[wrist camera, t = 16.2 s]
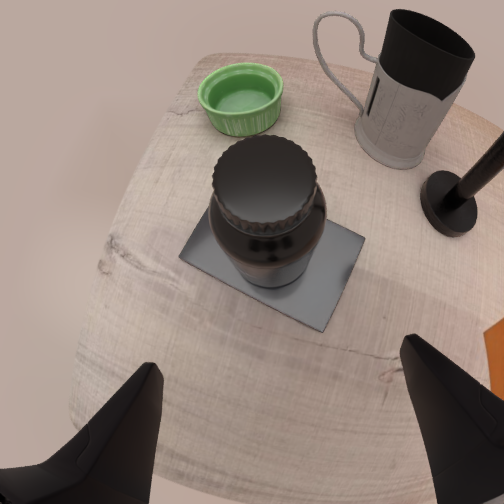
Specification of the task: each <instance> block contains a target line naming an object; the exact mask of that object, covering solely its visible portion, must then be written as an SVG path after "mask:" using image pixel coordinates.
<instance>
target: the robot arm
mask: <svg viewBox="0 0 504 504" xmlns="http://www.w3.org/2000/svg"><path fill="white" fill-rule="evenodd" d="M400 358H401V362H402V366H403V371H404V375H405V379H406V384H407V388H408V392H409V395H410V398H411V401H412V404H413V407H414V410H415V414H416V417H417V420H418V423H419V427H420V430H421V434H422V437H423V441H424V445H425V448H426V452H427V456H428V460H429V464H430V469H431V473H432V477H433V483H434V488H435V493H436V498H437V504H504V401H503V400H502V399H500V398H499V397H497V396H496V395H495V394H493V393H492V392H491V391H489V390H488V389H487V388H486V387H484V386H483V385H482V384H480V383H479V382H478V381H477V380H475V379H474V378H473V377H472V376H470V375H469V374H468V373H467V372H465V371H464V370H463V369H462V368H460V367H459V366H458V365H456V364H455V363H454V362H452V361H451V360H450V359H449V358H447V357H446V356H445V355H443V354H442V353H441V352H439V351H438V350H437V349H436V348H434V347H433V346H432V345H430V344H429V343H428V342H426V341H425V340H424V339H422V338H421V337H420V336H418V335H417V334H410V335H406V336H405V337H404V339H403V343H402V345H401V348H400ZM163 385H164V378H163V375H162V373H161V371H160V370H159V368H158V366H157V365H156V364H155V363H153V362H145V363H143V364H142V365H141V366H140V367H139V368H138V370H137V371H136V372H135V373H134V374H133V375H132V376H131V377H130V378H129V379H128V380H127V381H126V382H125V383H124V384H123V385H122V387H121V388H120V389H119V390H118V391H117V392H116V393H115V394H114V395H113V396H112V397H111V398H110V399H109V400H108V401H107V403H106V404H105V405H104V406H103V407H102V408H101V409H100V410H99V411H98V412H97V413H96V414H95V415H94V416H93V417H92V419H91V420H90V421H89V422H88V424H86V425H85V426H84V427H83V428H82V429H81V430H80V431H79V432H78V433H77V434H76V435H75V436H74V437H73V438H72V439H71V440H70V441H69V442H68V443H67V444H65V445H64V446H63V447H62V448H61V449H60V450H58V451H57V452H56V453H55V454H54V455H52V456H51V457H50V458H49V459H48V460H46V461H45V462H43V463H40V464H37V465H32V466H25V467H16V468H7V469H0V504H149V498H150V489H151V481H152V474H153V466H154V459H155V453H156V446H157V440H158V434H159V428H160V422H161V415H162V400H163Z"/></svg>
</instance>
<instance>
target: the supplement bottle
mask: <svg viewBox="0 0 504 504" xmlns="http://www.w3.org/2000/svg"><path fill="white" fill-rule="evenodd" d="M315 170H316V168H315V166H314V165H313V164H312V159H311V158H310V157H309V156H308V154H307V152H306V151H304V150H302V148H301V146H299V145H297V144H295V143H294V142H293V141H291V140H287V139H286V138H284V137H278V136H276V135H271V136H269V135H262V136H258V135H256V136H253V137H248V138H245V139H244V140H241V141H238V142H237V143H236V144H234V145H232V146H230V147H229V148H228V150H226V151H225V152H223V154H222V156H221V157H220V158H219V159H218V162H217V164H216V165H215V167H214V173H213V175H212V178H213V183H212V187H213V189H214V191H213V193H212V196H211V199H210V203H209V223H210V227H211V230H212V233H213V235H214V237H215V239H216V241H217V243H218V244H219V246H220V247H221V249H222V250H223V252H224V253H225V254H226V256H227V257H228V259H229V260H230V261H231V263H232V264H233V266H234V267H235V269H236V270H237V271H238V272H239V273H240V274H241V275H242V276H243V277H244V278H245V279H246V280H248V281H249V282H251V283H253V284H256V285H259V286H263V287H279V286H283V285H286V284H288V283H290V282H292V281H293V280H295V279H296V278H297V277H299V276H300V275H301V274H302V273H303V271H304V270H305V269H306V267H307V265H308V264H309V261H310V259H311V257H312V255H313V253H314V251H315V249H316V247H317V245H318V242H319V240H320V238H321V236H322V234H323V231H324V228H325V223H326V217H327V208H326V201H325V197H324V194H323V192H322V190H321V188H320V186H319V184H318V183H317V175H316V173H315Z"/></svg>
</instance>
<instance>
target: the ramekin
mask: <svg viewBox="0 0 504 504" xmlns="http://www.w3.org/2000/svg"><path fill="white" fill-rule="evenodd" d="M282 92H283V80H282V78H281V76H280V75H279V74H278V72H277V71H275V70H274V69H272V68H270V67H268V66H266V65H262V64H257V63H237V64H232V65H228V66H225V67H222V68H220V69H218V70H216V71H214V72H213V73H211V74H210V75H208V76H207V77H206V78H205V79H204V80H203V81H202V83H201V84H200V86H199V89H198V100H199V102H200V104H201V105H202V107H203V108H204V109H205V110H206V112H207V114H208V117H209V119H210V121H211V122H212V124H213V126H214V127H215V128H216V129H217V130H219V131H220V132H222V133H224V134H227V135H231V136H239V137H240V136H250V135H254V134H258V133H260V132H263V131H265V130H266V129H268V128H269V127H271V126H272V125H273V124H274V123H275V122H276V120H277V119H278V117H279V114H280V106H281V95H282Z"/></svg>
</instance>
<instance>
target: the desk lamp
mask: <svg viewBox="0 0 504 504" xmlns="http://www.w3.org/2000/svg"><path fill="white" fill-rule="evenodd" d="M502 169H504V132H503V133H502V134H501V135H500V137H499V138H498V139H497V140H496V141H495V142H494V144H493V145H492V146H491V147H490V148H489V149H488V150H487V152H486V153H485V154H484V155H483V156H482V157H481V158H480V159H479V160H478V161H477V163H476V164H475V165H474V166H473V167H472V168H471V169H470V170H469V171H468V172H467V173H466V174H465V175H464V176H463V177H462V178H460V177H459V176H457V175H456V174H454V173H452V172H449V171H444V170H441V171H436V172H434V173H433V174H432V175H431V176H430V177H429V178H428V179H427V180H426V182H425V183H424V184H423V186H422V189H421V204H422V208H423V211H424V213H425V215H426V217H427V219H428V220H429V222H430V223H431V224H432V226H433V227H434V228H435V229H436V230H438V231H439V232H440V233H442V234H444V235H446V236H449V237H459V236H462V235H463V234H465V233H466V232H468V231H469V230H471V229H472V228H473V226H474V225H475V223H476V220H477V205H476V201H475V198H474V195H475V194H476V193H477V192H478V191H480V190H481V189H482V188H483V187H484V186H485V185H486V184H487V183H488V182H490V181H491V180H492V179H493V178H494V177H495V176H496V175H497V174H498V173H499V172H500V171H501V170H502Z"/></svg>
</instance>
